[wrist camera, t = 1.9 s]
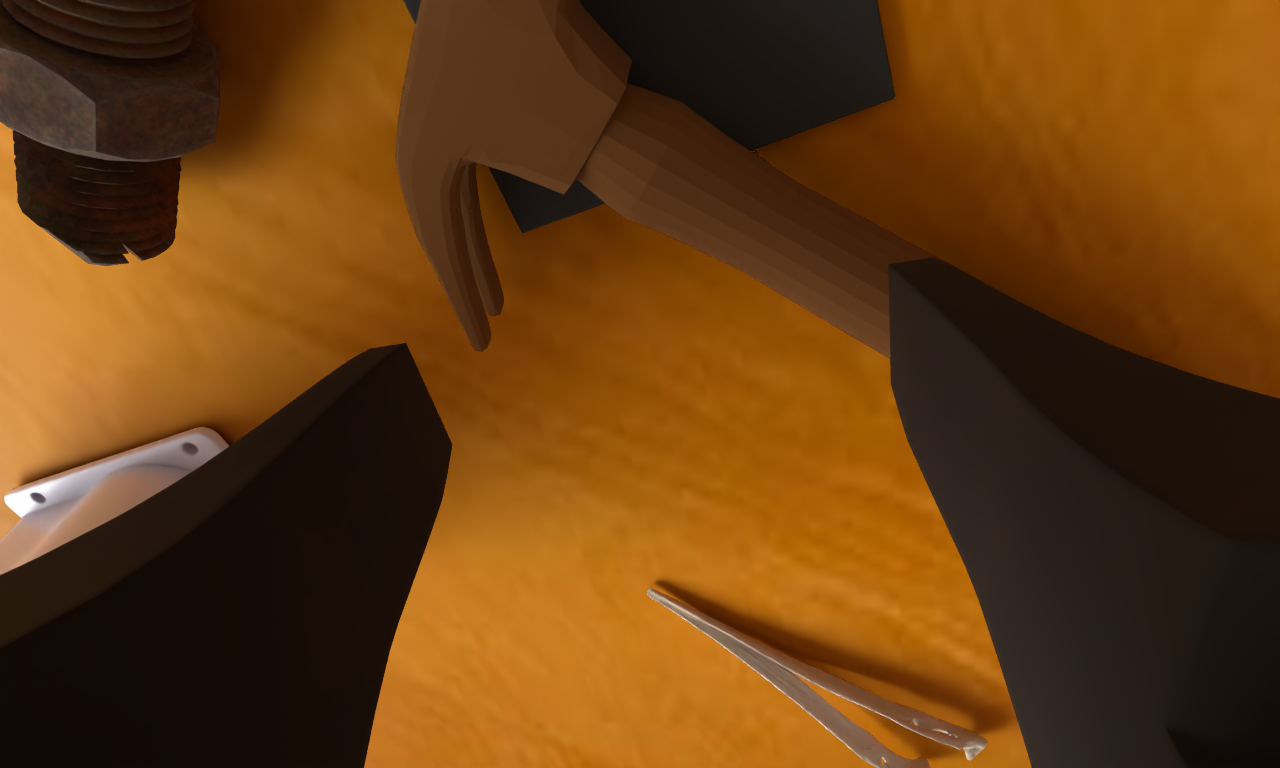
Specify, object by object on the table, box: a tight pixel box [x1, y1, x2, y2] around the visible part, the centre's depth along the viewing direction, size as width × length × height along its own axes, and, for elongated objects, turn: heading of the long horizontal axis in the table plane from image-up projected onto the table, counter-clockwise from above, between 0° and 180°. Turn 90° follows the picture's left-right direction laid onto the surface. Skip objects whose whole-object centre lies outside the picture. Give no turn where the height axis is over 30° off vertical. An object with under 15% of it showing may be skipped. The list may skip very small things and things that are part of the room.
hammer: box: [395, 0, 1004, 359], centre depth 20 cm, size 12×3×30 cm
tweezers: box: [647, 588, 988, 768], centre depth 31 cm, size 17×5×2 cm, turn 53°
